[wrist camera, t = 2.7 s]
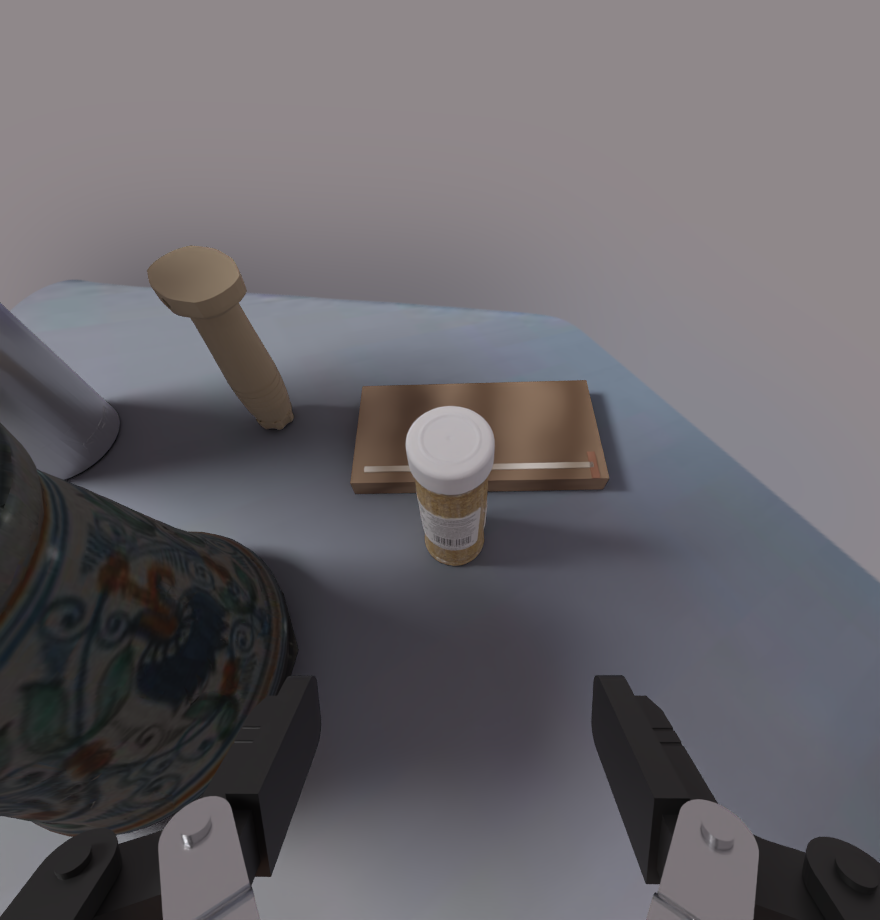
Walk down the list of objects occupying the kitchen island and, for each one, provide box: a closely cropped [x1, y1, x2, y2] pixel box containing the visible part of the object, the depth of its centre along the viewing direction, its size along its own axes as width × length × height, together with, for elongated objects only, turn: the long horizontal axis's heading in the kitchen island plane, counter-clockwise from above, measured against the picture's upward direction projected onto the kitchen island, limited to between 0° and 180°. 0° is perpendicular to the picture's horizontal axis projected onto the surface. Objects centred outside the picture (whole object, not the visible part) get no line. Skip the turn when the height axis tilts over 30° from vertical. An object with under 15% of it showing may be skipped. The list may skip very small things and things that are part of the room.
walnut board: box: [350, 380, 609, 494], centre depth 37 cm, size 20×10×2 cm, turn 90°
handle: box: [147, 246, 294, 430], centre depth 34 cm, size 5×6×15 cm
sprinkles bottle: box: [406, 406, 495, 566], centre depth 27 cm, size 5×5×14 cm
